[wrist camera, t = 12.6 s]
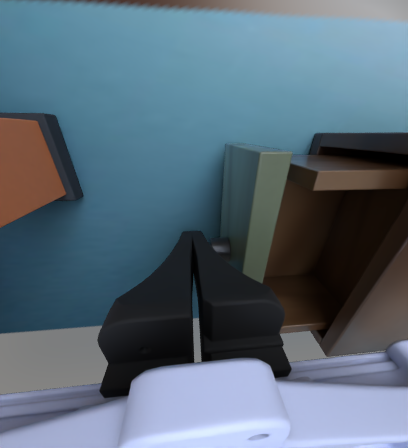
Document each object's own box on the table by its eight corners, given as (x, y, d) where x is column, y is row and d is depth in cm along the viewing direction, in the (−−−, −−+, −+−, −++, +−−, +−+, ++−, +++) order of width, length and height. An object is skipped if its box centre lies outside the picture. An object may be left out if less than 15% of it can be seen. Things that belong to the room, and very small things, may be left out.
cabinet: (275, 275, 18) (326, 357, 12) (314, 132, 12) (482, 132, 5) (364, 269, 19) (460, 342, 12) (447, 133, 13) (736, 133, 6)
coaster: (9, 197, 12) (-5, 202, 11) (-39, 113, 10) (-61, 111, 9) (83, 195, 12) (75, 200, 11) (55, 114, 10) (42, 113, 9)
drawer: (205, 283, 17) (213, 349, 11) (206, 143, 11) (225, 152, 6) (307, 275, 17) (358, 334, 12) (361, 143, 12) (500, 150, 6)
